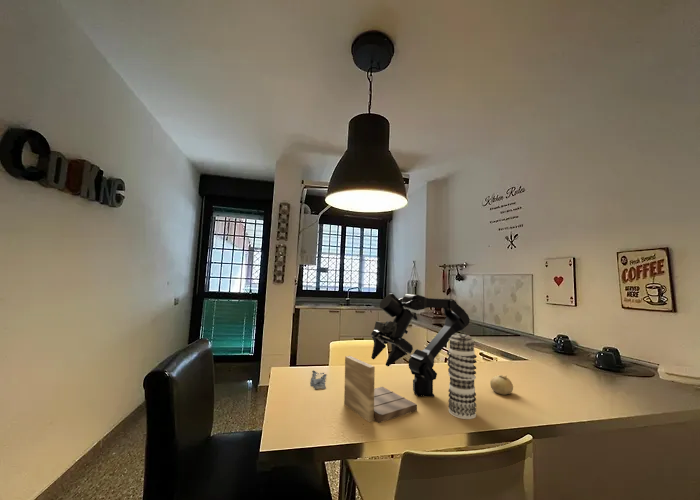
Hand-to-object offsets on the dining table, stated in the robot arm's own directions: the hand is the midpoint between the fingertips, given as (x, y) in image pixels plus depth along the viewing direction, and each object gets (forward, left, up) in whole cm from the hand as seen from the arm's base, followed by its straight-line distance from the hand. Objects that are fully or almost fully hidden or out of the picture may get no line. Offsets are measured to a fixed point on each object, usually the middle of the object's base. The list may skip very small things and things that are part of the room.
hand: (379, 362), depth 105 cm
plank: (+9, +7, -14) cm, 18 cm away
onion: (-49, -9, -14) cm, 52 cm away
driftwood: (+22, -22, -15) cm, 34 cm away
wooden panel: (0, +2, -14) cm, 14 cm away
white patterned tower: (-26, +8, -14) cm, 31 cm away
